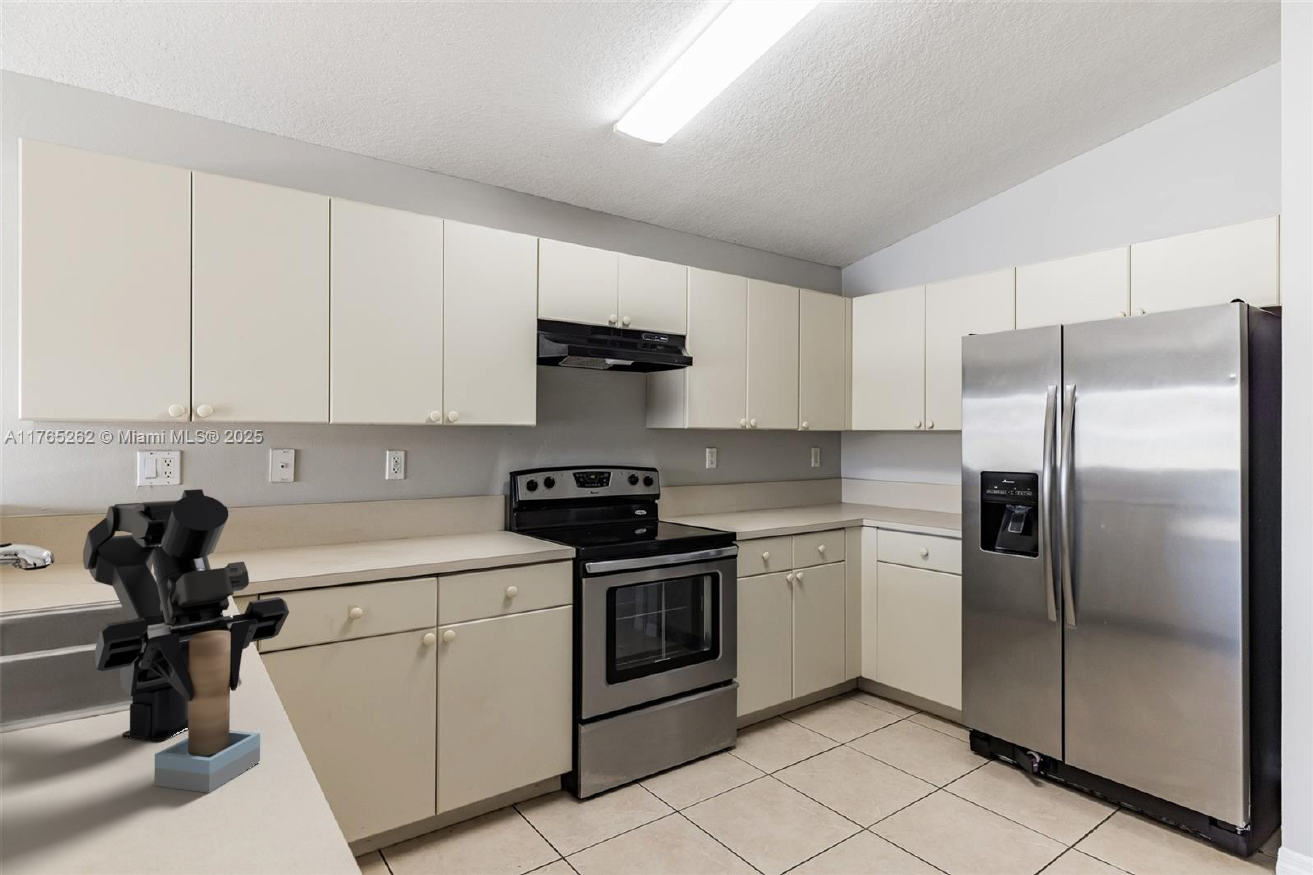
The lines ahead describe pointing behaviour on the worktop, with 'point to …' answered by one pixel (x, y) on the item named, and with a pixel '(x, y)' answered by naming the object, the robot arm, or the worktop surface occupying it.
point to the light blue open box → (206, 764)
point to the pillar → (209, 692)
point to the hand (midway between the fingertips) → (213, 694)
